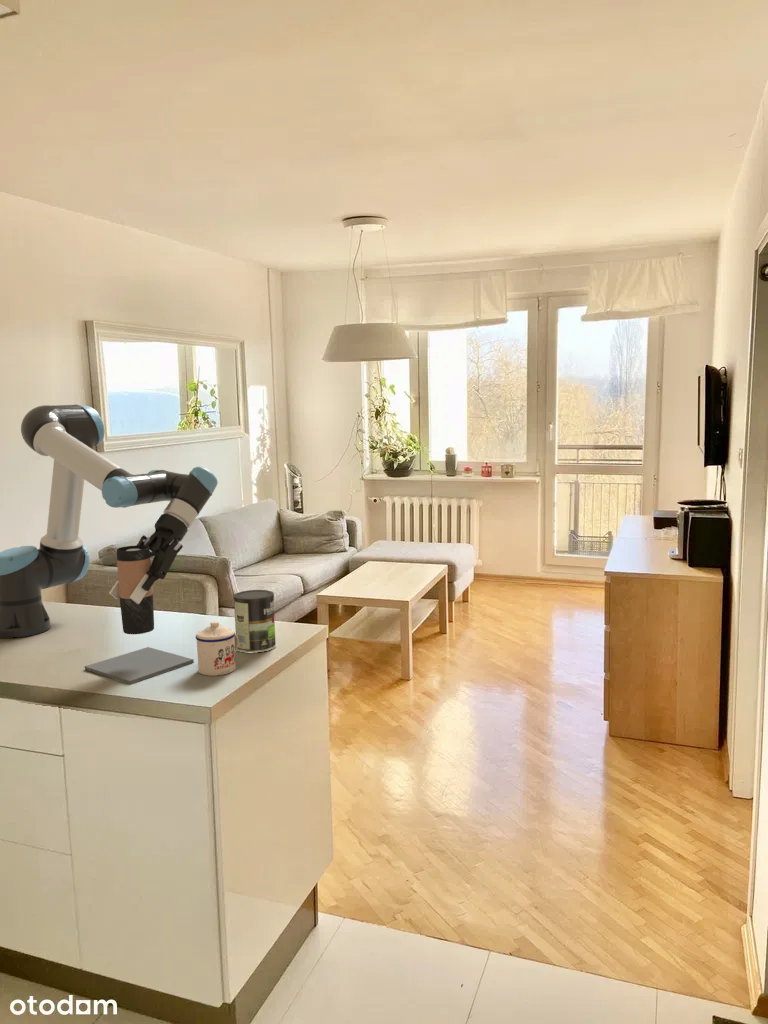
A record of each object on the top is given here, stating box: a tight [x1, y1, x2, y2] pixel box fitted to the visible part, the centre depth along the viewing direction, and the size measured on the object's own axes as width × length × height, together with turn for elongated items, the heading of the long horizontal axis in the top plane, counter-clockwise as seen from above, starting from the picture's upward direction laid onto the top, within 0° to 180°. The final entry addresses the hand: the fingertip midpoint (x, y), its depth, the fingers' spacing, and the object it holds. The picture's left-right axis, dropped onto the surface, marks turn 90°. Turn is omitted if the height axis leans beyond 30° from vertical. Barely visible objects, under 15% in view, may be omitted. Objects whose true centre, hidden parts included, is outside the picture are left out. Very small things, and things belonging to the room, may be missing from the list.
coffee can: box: [232, 589, 277, 653], centre depth 199 cm, size 10×10×14 cm
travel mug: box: [116, 545, 155, 635], centre depth 185 cm, size 8×8×20 cm
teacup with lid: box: [195, 620, 239, 677], centre depth 184 cm, size 12×9×12 cm
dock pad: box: [84, 646, 194, 685], centre depth 188 cm, size 18×18×1 cm
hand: (123, 598), depth 182 cm, fingers closed on travel mug, 7 cm apart
